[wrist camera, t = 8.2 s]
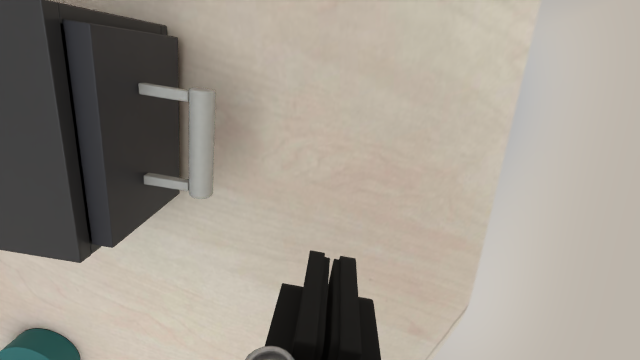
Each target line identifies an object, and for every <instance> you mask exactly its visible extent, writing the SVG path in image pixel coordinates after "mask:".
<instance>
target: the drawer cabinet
mask: <svg viewBox="0 0 640 360" xmlns="http://www.w3.org/2000/svg"><path fill="white" fill-rule="evenodd" d="M64 19H66V20H73V21H79V22H85V23H92V24H98V25H104V26H110V27H117V28H123V29H129V30H136V31H142V32H148V33H154V34H161V35H167V27H166V26H165V25H160V24H155V23H151V22H146V21H141V20H137V19H132V18H127V17H123V16H118V15H113V14H109V13H104V12H99V11H95V10H90V9H85V8H81V7H76V6H71V5H67V4H62V3H57V2H53V1H48V0H0V250H5V251H11V252H17V253H23V254H29V255H35V256H41V257H47V258H53V259H59V260H66V261H72V262H78V263H81V262H82V261H84V260H85V259H86V258H87V257H89V256H90V255H91V254H92V253H93V252H95V251H96V250H97V249H99V248H100V247H101V246H99V245H93V244H92V238H91V231H90V223H89V216H88V217H86V213H85V205H84V198H83V190H82V183H81V176H80V168H79V161H78V153H77V146H76V138H75V131H74V124H73V116H72V109H71V101H70V94H69V86H68V79H67V71H66V64H65V57H64V49H63V42H62V34H61V30H64V24H63V20H64Z"/></svg>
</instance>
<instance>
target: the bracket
mask: <svg viewBox="0 0 640 360" xmlns="http://www.w3.org/2000/svg"><path fill="white" fill-rule="evenodd" d="M0 360H80V356H79V353H78V351H77V349H76V348H75V347H74V345H73V344H72V343H71V342H70V341H68V340H67V339H66V338H64V337H63V336H61V335H59V334H57V333H55V332H53V331H49V330H45V329H29V330H26V331H24V332H23V333H21V334H20V335H19V336H18V337H17V338H16V339H14V340H13V341H12V342H11V343H10V344H8V345H7V346H6V347H5V348H4V349H3V350H1V351H0Z"/></svg>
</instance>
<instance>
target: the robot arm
mask: <svg viewBox="0 0 640 360" xmlns="http://www.w3.org/2000/svg"><path fill="white" fill-rule="evenodd" d="M324 255H325V253H322V252H316V251H311V250H310V254H309V260H308V265H307V271H306V276H305V282H304V287H301V286H295V285H290V284H284V283H282V286H281V289H280V293H279V297H278V300H277V304H276V308H275V311H274V315H273V318H272V322H271V326H270V329H269V333H268V336H267V340H266V344H265V347H261V348H259V349H256V350H254V351H253V352H252V353H250V354H249V355H248V356H247V358H246V359H245V360H381V356H380V348H379V341H378V333H377V326H376V318H375V310H374V304H373V300H372V299H366V298H361V297H358V287H357V272H356V259H355V258H349V257H344V256H340V259H339V260H338V259H334V261H333V266H332V270H331V275H330V279H329V284H328V278H329V263H330V258H327V257H324Z"/></svg>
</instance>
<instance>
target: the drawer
mask: <svg viewBox="0 0 640 360" xmlns="http://www.w3.org/2000/svg"><path fill="white" fill-rule="evenodd" d="M63 24H64V30H61V34H62V42H63V49H64V57H65V64H66V71H67V79H68V86H69V94H70V101H71V109H72V116H73V124H74V131H75V138H76V146H77V153H78V161H79V168H80V176H81V183H82V190H83V198H84V205H85V213H86V217H88V216H89V223H90V231H91V238H92V244H93V245H99V246H105V247H111V248H113V247H114V246H116V245H117V244H118V243H119V242H120V241H122V240H123V239H124V238H125V237H127V236H128V235H129V234H130V233H131V232H133V231H134V230H135V229H136V228H138V227H139V226H140V225H141V224H142V223H144V222H145V221H146V220H147V219H149V218H150V217H151V216H152V215H153V214H155V213H156V212H157V211H158V210H160V209H161V208H162V207H163V206H164V205H166V204H167V203H168V202H169V201H171V200H172V199H173V198H174V197H176V196H177V195H178V194H179V193H180V190H184V191H188V190H189V195H190V196H191V197H193V198H197V199H204V198H209V197H211V196H212V194H213V165H214V133H215V100H216V92H215V91H214V90H212V89H208V88H200V87H192V88H189V90H186V89H180V88H178V38H177V37H173V36H167V35H161V34H154V33H148V32H142V31H136V30H129V29H123V28H117V27H110V26H104V25H98V24H92V23H85V22H79V21H73V20H66V19H64V20H63ZM178 100H179V101H185V102H189V179H184V178H179V101H178Z"/></svg>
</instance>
